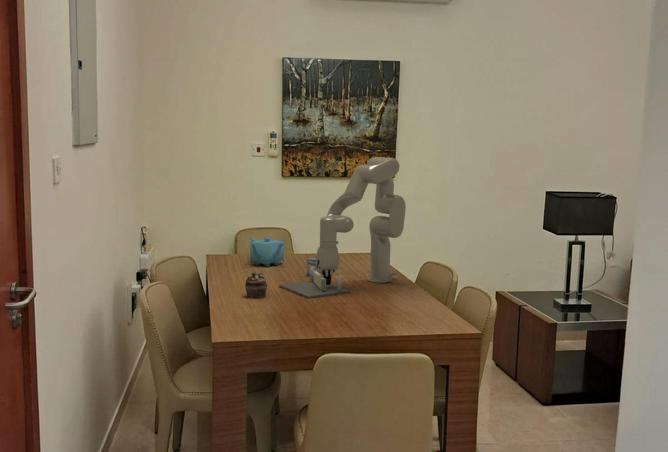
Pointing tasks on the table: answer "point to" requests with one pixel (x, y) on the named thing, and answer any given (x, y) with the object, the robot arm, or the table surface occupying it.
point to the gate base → (315, 288)
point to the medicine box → (311, 263)
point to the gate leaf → (319, 280)
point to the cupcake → (256, 286)
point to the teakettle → (266, 251)
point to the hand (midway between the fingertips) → (327, 284)
